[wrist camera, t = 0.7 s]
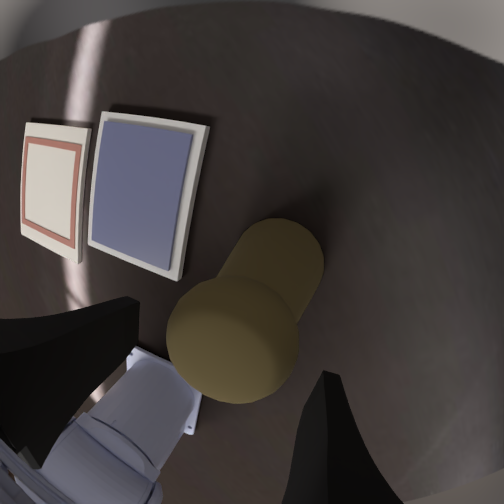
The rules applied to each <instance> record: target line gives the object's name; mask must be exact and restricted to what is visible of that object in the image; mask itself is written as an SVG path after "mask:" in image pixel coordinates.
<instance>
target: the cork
mask: <svg viewBox="0 0 504 504" xmlns="http://www.w3.org/2000/svg"><path fill="white" fill-rule="evenodd" d="M323 272H324V256H323V253H322V250H321V247H320V244H319V243H318V241H317V240H316V239H315V237H314V236H313V235H312V233H311V232H310V231H309V230H307V229H306V228H304V227H303V226H301V225H300V224H299V223H297V222H293V221H290V220H287V219H284V218H269V219H265V220H263V221H260V222H257V223H254V224H253V225H252V226H251V227H249V228H248V229H247V230H246V231H244V233H243V234H242V236H241V237H240V239H239V241H238V242H237V244H236V245H235V247H234V249H233V250H232V252H231V254H230V255H229V257H228V259H227V260H226V262H225V264H224V265H223V267H222V269H221V270H220V272H219V274H218V275H217V277H216V278H213V279H210V280H207V281H203V282H200V283H199V284H197V285H196V286H195V287H193V288H192V289H191V290H190V291H188V292H187V293H186V294H185V295H183V296H182V297H181V298H180V299H179V301H178V302H177V304H176V306H175V308H174V310H173V311H172V313H171V315H170V318H169V320H168V323H167V333H166V344H167V349H168V353H169V357H170V360H171V362H172V363H173V365H174V367H175V369H176V370H177V372H178V374H179V375H180V376H181V377H182V378H183V379H184V380H185V381H186V382H187V383H188V384H189V385H190V386H192V387H193V388H194V389H196V390H197V391H199V392H200V393H202V394H203V395H206V396H208V397H211V398H213V399H215V400H218V401H222V402H228V403H234V404H240V403H251V402H254V401H256V400H259V399H261V398H264V397H266V396H268V395H270V394H272V393H274V392H275V391H276V390H277V389H278V388H279V387H280V386H281V385H283V384H284V383H285V381H286V380H287V379H288V377H289V376H290V374H291V372H292V370H293V368H294V365H295V363H296V361H297V357H298V352H299V332H298V327H297V323H298V321H299V320H300V318H301V316H302V314H303V313H304V311H305V309H306V307H307V306H308V304H309V302H310V300H311V298H312V297H313V295H314V293H315V291H316V289H317V288H318V286H319V284H320V281H321V278H322V275H323Z"/></svg>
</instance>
